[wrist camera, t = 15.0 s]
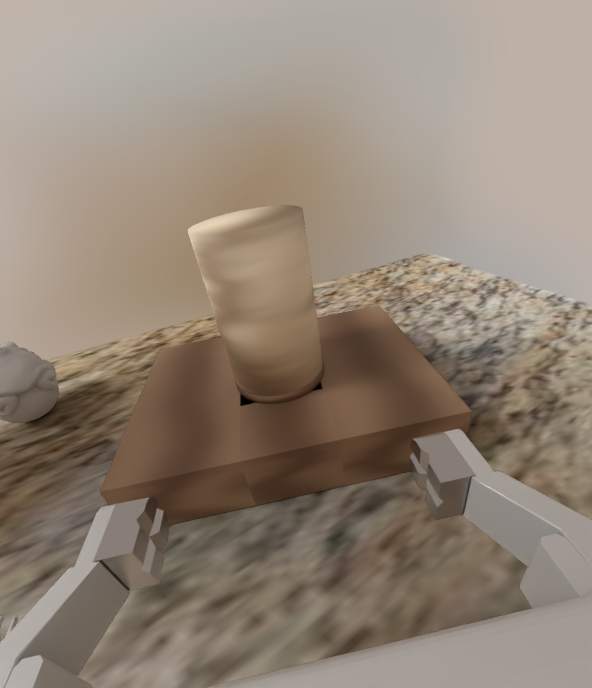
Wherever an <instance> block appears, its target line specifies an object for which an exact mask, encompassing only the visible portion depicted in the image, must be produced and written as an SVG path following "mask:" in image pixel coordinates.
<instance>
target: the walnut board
mask: <svg viewBox="0 0 592 688" xmlns="http://www.w3.org/2000/svg"><path fill="white" fill-rule="evenodd" d="M317 322H318V330H319V337H320V345H321V353H322V358H323V362H324V375H323V378H322V380H321V381H320V383H319V384H318V385H317V386H316V387H315V388H316V390H315V391H311V392H309V393H307V394H306V395H304V396H302V397H300V398H298V399H295V400H292V401H289V402H285V403H279V404H261V403H253V404H252V401H250V400H248V399H246V398H245V397H243V396H242V395H241V394H240V392H239V391H238V389H237V386H236V383H235V380H234V374H233V371H232V368H231V365H230V362H229V359H228V356H227V353H226V349H225V346H224V343H223V340H222V337H219V338H214V339H209V340H204V341H199V342H194V343H189V344H184V345H179V346H175V347H170V348H165V349H160V350H159V352H158V354H157V357H156V359H155V362H154V364H153V366H152V369H151V371H150V373H149V376H148V378H147V381H146V383H145V385H144V388H143V390H142V392H141V395H140V397H139V399H138V402H137V404H136V407H135V409H134V411H133V414H132V416H131V418H130V421H129V423H128V426H127V428H126V430H125V433H124V435H123V437H122V440H121V442H120V444H119V447H118V449H117V452H116V454H115V456H114V459H113V461H112V463H111V466H110V468H109V470H108V473H107V475H106V478H105V480H104V482H103V485H102V487H101V489H100V493H101V495H102V496H103V497H104V498H105V500H106V501H107V502H108V504H109V505H113V504H118V503H123V502H128V501H133V500H138V499H144V498H149V497H155V499H156V500H157V501H158V506H157V508H158V509H160V510H163V511H164V512H165V514H166V515H167V519H168V522H169V525H171V524H175V523H180V522H184V521H189V520H193V519H198V518H202V517H207V516H211V515H216V514H220V513H225V512H229V511H234V510H238V509H243V508H247V507H252V506H256V505H261V504H265V503H270V502H274V501H279V500H283V499H287V498H292V497H296V496H301V495H305V494H310V493H314V492H319V491H323V490H328V489H332V488H337V487H341V486H346V485H350V484H355V483H359V482H364V481H368V480H373V479H377V478H382V477H386V476H391V475H395V474H400V473H404V472H409V471H411V467H410V456H411V454H412V453H413V451H412V449H411V448H410V443H411V440H412V439H414V438H418V437H423V436H427V435H431V434H435V433H440V432H446V431H450V430H455V429H460V430H461V431H463V432H464V434H465V435H466V436H467V435H468V430H469V424H470V419H471V414H472V411H471V409H470V408H469V407H468V406H467V405H466V404H465V403H464V401H463V400H462V399H461V398H460V397H459V396H458V395H457V393H456V392H455V391H454V390H453V389H452V388H451V387H450V385H449V384H448V383H447V382H446V381H445V380H444V379H443V377H442V376H441V375H440V374H439V373H438V372H437V371H436V370H435V368H434V367H433V366H432V365H431V364H430V363H429V362H428V360H427V359H426V358H425V357H424V356H423V355H422V354H421V352H420V351H419V350H418V349H417V348H416V347H415V346H414V344H413V343H412V342H411V341H410V340H409V339H408V338H407V336H406V335H405V334H404V333H403V332H402V331H401V330H400V328H399V327H398V326H397V325H396V324H395V323H394V322H393V320H392V319H391V318H390V317H389V316H388V315H387V314H386V312H385V311H384V310H383V309H382V308H381V307H380V306H379V305H378V306H373V307H368V308H363V309H358V310H353V311H348V312H343V313H338V314H333V315H328V316H324V317H319V318H317Z"/></svg>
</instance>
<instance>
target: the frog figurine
mask: <svg viewBox="0 0 592 688" xmlns="http://www.w3.org/2000/svg"><path fill="white" fill-rule="evenodd" d="M55 378H56V372H55V368H54V366H53V365H52V364H51V363H50V362H48V361H46V360H42V359H41V358H40V357H39V356H38V355H36V354H35V353H34V352H30V351H28V350H27V349H25V348H18V346H17V345H16V344H15V343H12V342H6V343H2V344H0V419H2V420H4V421H8V422H14V423H22V422H29V421H33V420H35V419H38V418H40V417H42V416H44V415H45V414H46V413H48V412H49V411H50V410H51V409H52V408H53V406H54V405H55V403H56V401H57V399H58V395H59V388H58V381H57V379H55Z"/></svg>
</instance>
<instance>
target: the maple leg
mask: <svg viewBox="0 0 592 688" xmlns="http://www.w3.org/2000/svg"><path fill="white" fill-rule="evenodd" d="M188 233H189V237H190V240H191V243H192V246H193V249H194V252H195V256H196V259H197V262H198V265H199V268H200V271H201V274H202V277H203V280H204V284H205V287H206V290H207V293H208V296H209V299H210V302H211V306H212V309H213V312H214V315H215V318H216V321H217V324H218V328H219V331H220V334H221V337H222V340H223V343H224V346H225V349H226V353H227V356H228V359H229V362H230V365H231V368H232V371H233V374H234V380H235V383H236V386H237V389H238V391H239V392H240V394H241V395H242V396H243V397H245V398H246V399H248V400H250V401H253V402H256V403H261V404H279V403H285V402H289V401H292V400H295V399H298V398H300V397H302V396H304V395H306V394H307V393H309V392H311V391H313V389H314V388H315V387H316V386H317V385H318V384H319V383H320V381H321V380H322V378H323V375H324V362H323V358H322V353H321V345H320V337H319V330H318V322H317V315H316V307H315V299H314V292H313V284H312V277H311V269H310V262H309V254H308V247H307V239H306V231H305V224H304V216H303V209H302V208H301V207H298V206H291V205H281V206H268V207H260V208H253V209H247V210H242V211H237V212H233V213H228V214H224V215H221V216H217V217H214V218H211V219H208V220H205V221H202V222H200V223H198V224H195V225H194V226H192V227H191V228H189V230H188Z"/></svg>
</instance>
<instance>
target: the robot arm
mask: <svg viewBox="0 0 592 688" xmlns="http://www.w3.org/2000/svg"><path fill="white" fill-rule="evenodd" d="M410 448H411V449H412V451H413V453H412V454H411V456H410V467H411V471H412V474H413V477H414V479H415V481H416V483H417V485H418V487H420V488H421V489H423V490H424V491H426V492H425V501H426V503H427V504H428V506H429V508H430V510H431V512H432V514H433V516H434V518H435V520H439V519H444V518H449V517H454V516H459V515H464V517H465V518H466V519H468V520H469V521H470V522H472V523H473V524H474V525H475V526H477V527H478V528H479V529H480V530H482V531H483V532H484V533H486V534H487V535H488V536H489V537H491V538H492V539H493V540H494V541H496V542H497V543H498V544H500V545H501V546H502V547H503V548H505V549H506V550H507V551H508V552H510V553H511V554H512V555H513V556H515V557H516V558H517V559H519V560H520V561H521V562H522V563H524V564H525V565H526V566H527V569H526V571H525V574H524V576H523V578H522V580H521V583H520V589H521V590H522V592H523V594H524V595H525V597H526V598H527V600H528V602H529V603H530V605H531V607H532V608H531V609H527V610H523V611H519V612H515V613H511V614H507V615H503V616H498V617H494V618H490V619H486V620H482V621H478V622H474V623H470V624H466V625H461V626H457V627H453V628H449V629H445V630H441V631H437V632H433V633H429V634H425V635H420V636H416V637H412V638H408V639H404V640H400V641H396V642H392V643H388V644H383V645H379V646H375V647H371V648H367V649H363V650H359V651H355V652H351V653H346V654H342V655H338V656H334V657H330V658H326V659H322V660H318V661H314V662H310V663H305V664H301V665H297V666H293V667H289V668H285V669H281V670H277V671H273V672H268V673H264V674H260V675H256V676H252V677H248V678H244V679H240V680H236V681H231V682H227V683H223V684H219V685H215V686H211V687H207V688H592V520H590V519H589V518H587V517H585V516H583V515H581V514H579V513H577V512H575V511H574V510H572V509H570V508H568V507H566V506H564V505H562V504H561V503H559V502H557V501H555V500H553V499H551V498H549V497H547V496H546V495H544V494H542V493H540V492H538V491H536V490H534V489H533V488H531V487H529V486H527V485H525V484H523V483H521V482H519V481H518V480H516V479H514V478H512V477H510V476H508V475H506V474H505V473H503V472H501V471H496V472H494V470H493V469H492V468H491V467H490V465H489V464H488V463H487V461H486V460H485V459H484V458H483V456H482V455H481V454H480V453H479V451H478V450H477V449H476V448H475V446H474V445H473V444H472V443H471V441H470V440H469V439H468V438H467V436H466V435H465V434H464V432H463V431H461V430H460V429H455V430H450V431H446V432H440V433H435V434H431V435H427V436H423V437H418V438H414V439H412V440H411V443H410ZM157 506H158V501H157V500H156V499H155V497H149V498H144V499H138V500H133V501H128V502H123V503H118V504H113V505H108V506H104V507H101V508H100V509H99V510H98V512H97V513H96V515H95V518H94V520H93V522H92V525H91V527H90V530H89V532H88V534H87V537H86V539H85V542H84V544H83V547H82V549H81V551H80V554H79V556H78V559H77V561H76V564H75V566H74V567H71V568H68V570H67V571H66V572H65V573H64V574H63V575H62V576H61V577H60V578H59V579H58V580H57V582H56V583H55V584H54V585H53V586H52V587H51V588H50V589H49V590H48V591H47V592H46V594H45V595H44V596H43V597H42V598H41V599H40V600H39V601H38V602H37V603H36V604H35V606H34V607H33V608H32V609H31V610H30V611H29V612H28V613H27V614H26V615H25V616H24V618H23V619H22V620H21V621H20V622H19V623H18V624H17V625H16V626H15V627H14V628H13V630H12V631H11V632H10V633H9V634H8V635H7V636H6V637H5V638H4V639H3V640H2V642H1V643H0V688H92V685H91V684H89V683H88V682H86V681H84V680H82V679H81V678H79V677H77V676H78V674H79V673H80V671H81V670H82V668H83V667H84V665H85V663H86V662H87V660H88V659H89V657H90V656H91V654H92V652H93V651H94V649H95V648H96V646H97V644H98V643H99V641H100V640H101V638H102V637H103V635H104V633H105V632H106V630H107V629H108V627H109V626H110V624H111V622H112V621H113V619H114V618H115V616H116V614H117V613H118V611H119V610H120V608H121V607H122V605H123V603H124V602H125V600H126V599H127V597H128V596H129V594H130V592H129V591H133V590H137V589H141V588H145V587H148V586H152V585H156V584H159V581H160V576H161V571H162V566H163V561H164V558H163V556H162V554H161V550H162V549H163V548H164V546H165V545H166V544H167V540H168V535H169V522H168V519H167V515H166V514H165V512H164V511H163V510H160V509H158V508H157Z"/></svg>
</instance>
